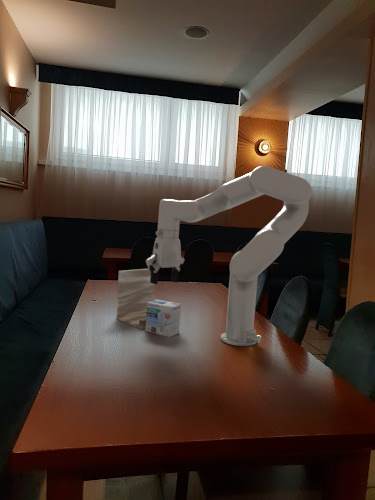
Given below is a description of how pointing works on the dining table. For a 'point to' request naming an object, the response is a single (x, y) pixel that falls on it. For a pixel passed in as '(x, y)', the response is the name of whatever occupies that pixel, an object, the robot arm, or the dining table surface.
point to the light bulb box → (163, 317)
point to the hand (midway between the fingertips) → (164, 282)
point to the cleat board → (134, 296)
